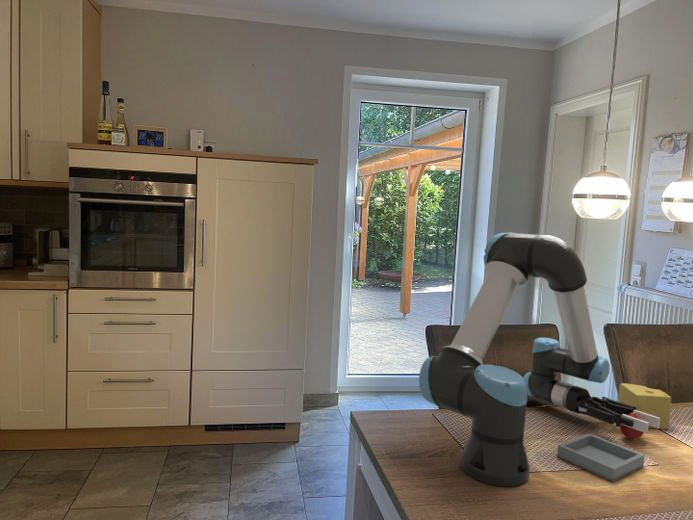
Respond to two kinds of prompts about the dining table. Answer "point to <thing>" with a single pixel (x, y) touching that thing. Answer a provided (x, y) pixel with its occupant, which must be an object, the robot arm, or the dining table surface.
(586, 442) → the tray
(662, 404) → the cheese
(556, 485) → the dining table surface
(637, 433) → the onion
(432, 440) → the dining table surface
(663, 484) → the dining table surface
